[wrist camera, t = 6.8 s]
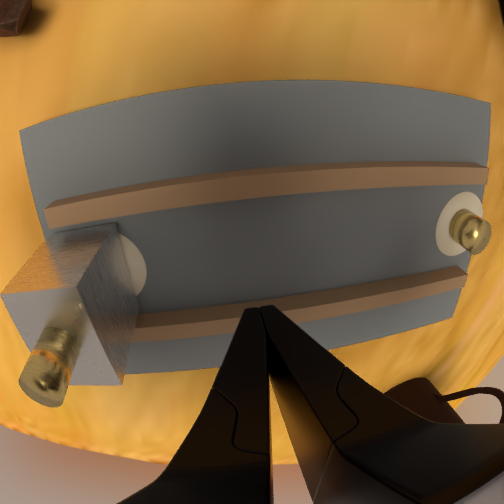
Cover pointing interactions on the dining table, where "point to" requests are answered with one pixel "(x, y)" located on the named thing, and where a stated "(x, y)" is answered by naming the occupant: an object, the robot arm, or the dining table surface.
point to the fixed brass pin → (470, 231)
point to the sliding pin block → (73, 312)
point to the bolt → (13, 16)
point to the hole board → (270, 206)
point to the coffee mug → (435, 400)
